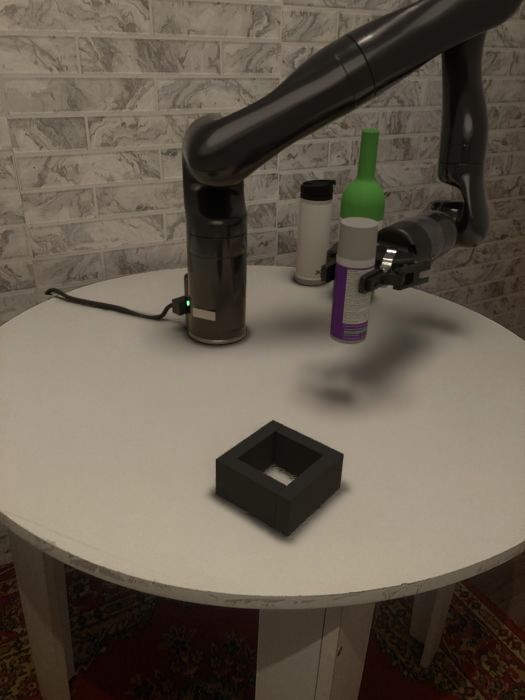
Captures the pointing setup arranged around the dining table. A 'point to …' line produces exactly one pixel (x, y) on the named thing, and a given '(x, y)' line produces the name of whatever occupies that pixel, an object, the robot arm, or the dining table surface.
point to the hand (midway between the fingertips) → (342, 280)
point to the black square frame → (266, 492)
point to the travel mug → (313, 230)
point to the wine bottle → (364, 186)
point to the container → (352, 279)
